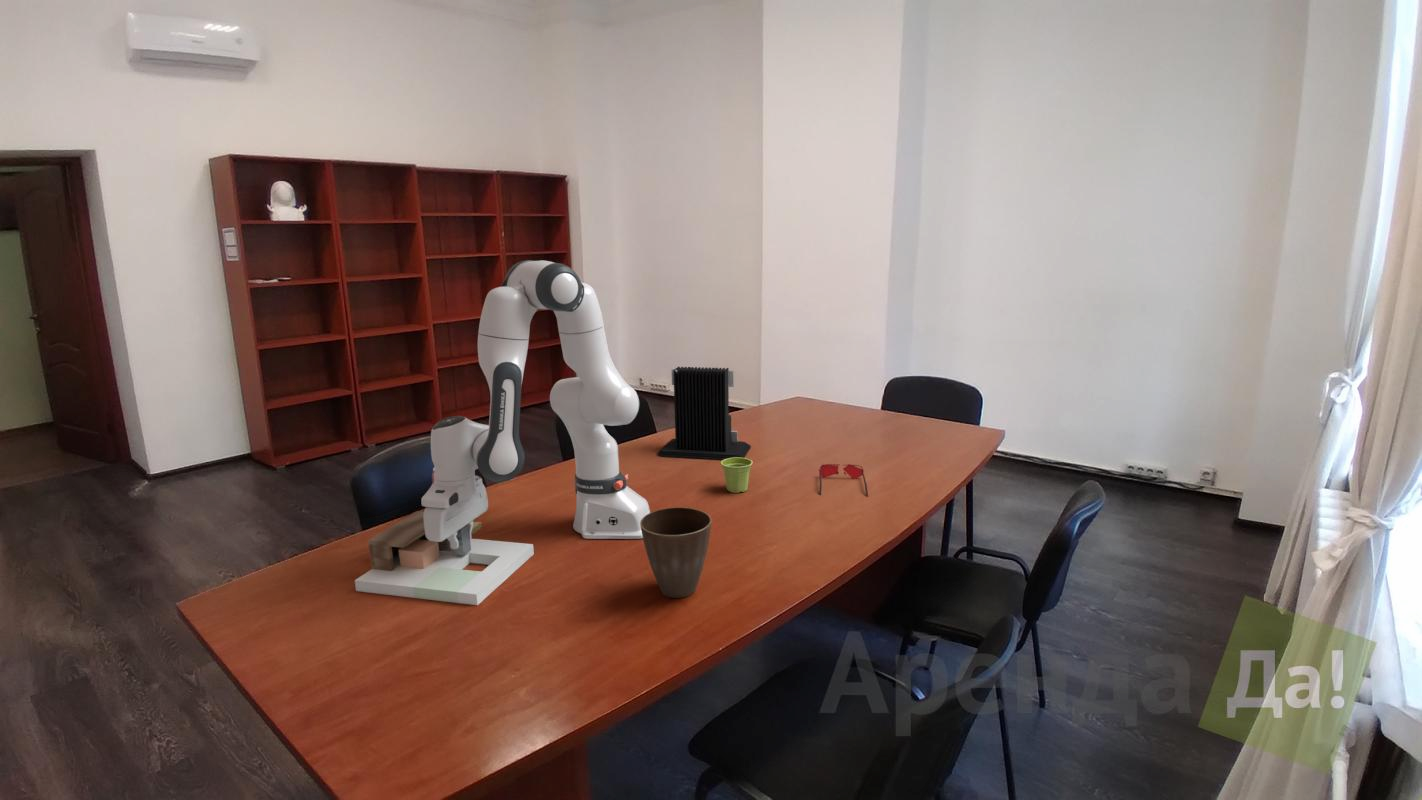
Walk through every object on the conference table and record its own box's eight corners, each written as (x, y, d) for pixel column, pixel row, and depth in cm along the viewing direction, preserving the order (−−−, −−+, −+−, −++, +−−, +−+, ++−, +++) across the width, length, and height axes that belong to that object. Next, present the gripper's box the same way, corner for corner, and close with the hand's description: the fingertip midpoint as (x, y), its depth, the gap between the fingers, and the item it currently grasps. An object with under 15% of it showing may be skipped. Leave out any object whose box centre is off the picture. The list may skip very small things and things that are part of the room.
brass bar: (475, 528, 190) (474, 521, 189) (481, 528, 189) (481, 522, 189) (454, 543, 180) (454, 537, 180) (461, 544, 180) (460, 537, 179)
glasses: (863, 478, 223) (864, 463, 222) (868, 498, 207) (868, 481, 206) (818, 477, 225) (818, 462, 223) (819, 496, 209) (819, 480, 207)
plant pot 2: (716, 493, 211) (716, 465, 210) (727, 482, 220) (727, 455, 218) (746, 497, 208) (746, 468, 206) (756, 486, 216) (756, 458, 215)
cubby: (452, 540, 175) (449, 513, 174) (406, 572, 159) (403, 543, 157) (420, 537, 177) (417, 510, 176) (371, 569, 161) (368, 540, 159)
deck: (533, 553, 173) (533, 544, 172) (477, 605, 149) (476, 594, 149) (426, 543, 180) (425, 534, 179) (356, 590, 156) (354, 580, 156)
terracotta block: (439, 557, 166) (438, 541, 165) (423, 568, 161) (421, 552, 160) (417, 555, 168) (415, 539, 167) (400, 566, 162) (398, 550, 161)
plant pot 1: (687, 614, 144) (685, 540, 141) (628, 596, 152) (625, 525, 148) (725, 584, 157) (724, 515, 153) (669, 568, 164) (667, 502, 161)
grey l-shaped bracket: (471, 549, 168) (467, 517, 167) (454, 562, 162) (450, 529, 160) (417, 545, 172) (413, 514, 170) (399, 557, 165) (394, 525, 164)
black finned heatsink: (752, 446, 258) (751, 363, 251) (742, 462, 240) (741, 374, 233) (670, 441, 265) (668, 361, 258) (655, 457, 247) (652, 371, 240)
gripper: (468, 472, 174) (473, 525, 177) (415, 502, 155) (422, 561, 158) (492, 473, 173) (496, 527, 176) (441, 504, 153) (447, 564, 157)
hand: (461, 543), depth 167 cm, fingers closed on grey l-shaped bracket, 3 cm apart
